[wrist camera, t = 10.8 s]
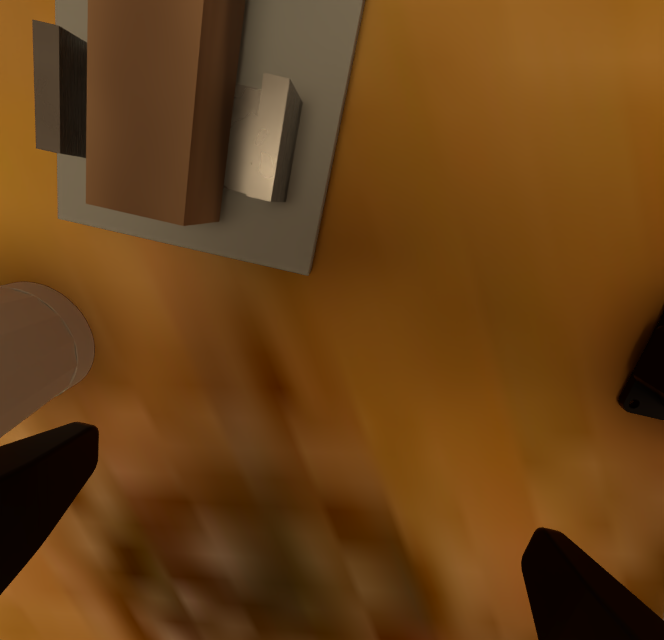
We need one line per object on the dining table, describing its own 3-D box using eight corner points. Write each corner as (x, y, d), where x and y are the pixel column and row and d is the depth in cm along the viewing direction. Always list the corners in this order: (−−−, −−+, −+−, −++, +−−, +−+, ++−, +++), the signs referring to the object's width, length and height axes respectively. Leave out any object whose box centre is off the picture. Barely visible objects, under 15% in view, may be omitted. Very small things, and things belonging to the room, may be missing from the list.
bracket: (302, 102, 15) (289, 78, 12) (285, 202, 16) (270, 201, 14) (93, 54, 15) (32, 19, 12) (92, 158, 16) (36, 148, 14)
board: (411, -232, 13) (416, -267, 12) (310, 271, 18) (308, 275, 17) (73, -310, 13) (50, -351, 12) (73, 217, 18) (57, 218, 17)
